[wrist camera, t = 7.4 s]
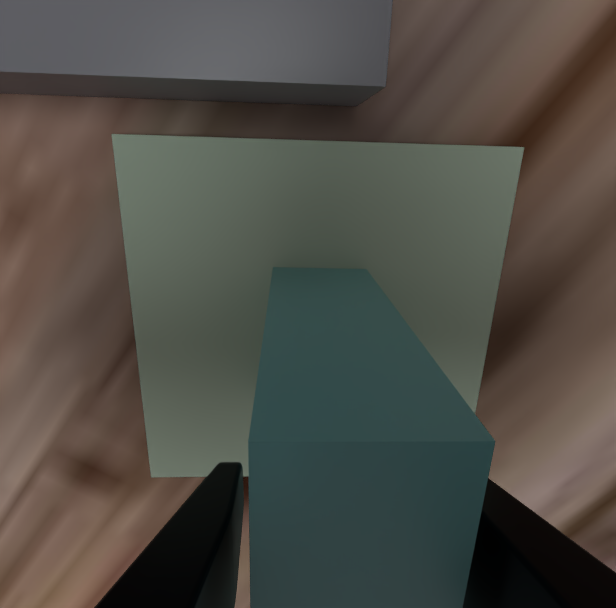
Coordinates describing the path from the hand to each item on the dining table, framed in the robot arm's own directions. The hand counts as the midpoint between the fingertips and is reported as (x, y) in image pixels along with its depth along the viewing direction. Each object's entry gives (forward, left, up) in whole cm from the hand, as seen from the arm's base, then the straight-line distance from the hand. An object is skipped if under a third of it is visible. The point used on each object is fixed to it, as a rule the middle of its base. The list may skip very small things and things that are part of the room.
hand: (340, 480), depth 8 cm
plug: (0, 0, -7) cm, 7 cm away
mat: (0, 0, -8) cm, 8 cm away
